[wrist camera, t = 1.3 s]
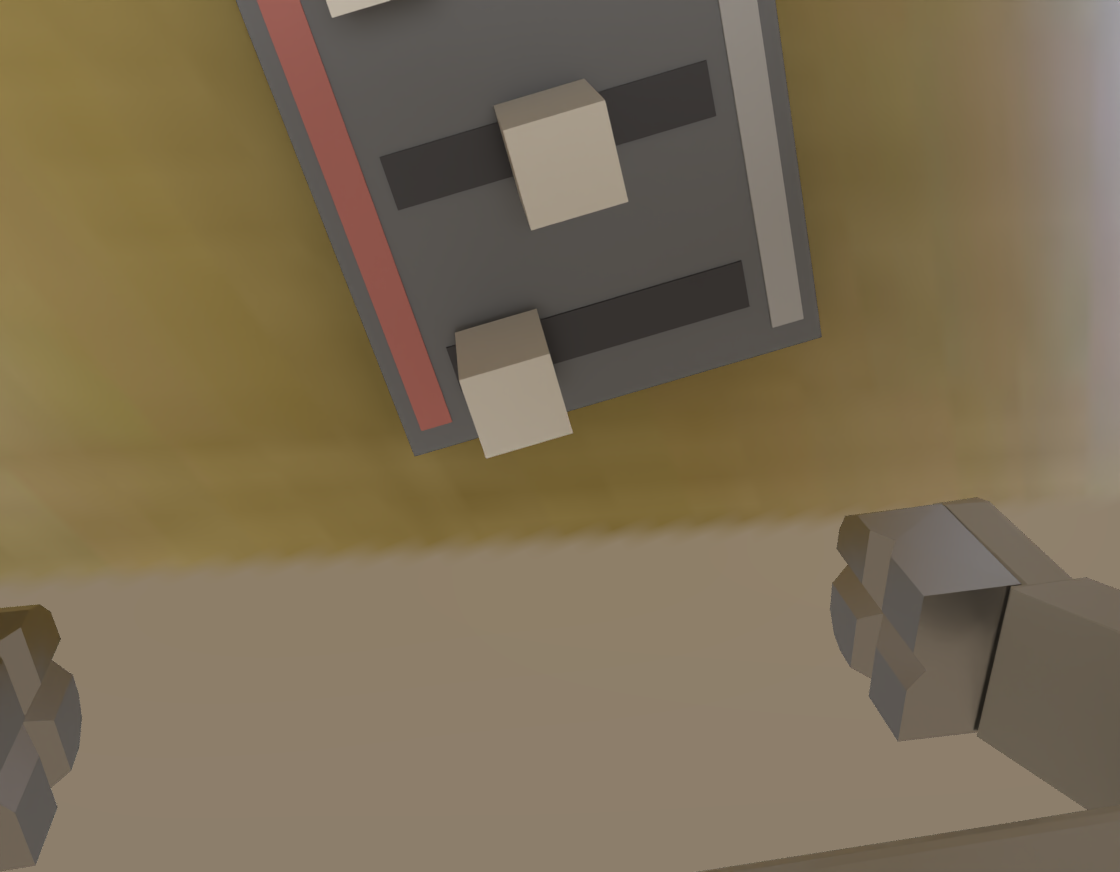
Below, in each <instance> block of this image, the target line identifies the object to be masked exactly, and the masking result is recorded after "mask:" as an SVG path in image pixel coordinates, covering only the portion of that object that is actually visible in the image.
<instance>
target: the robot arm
mask: <svg viewBox="0 0 1120 872" xmlns="http://www.w3.org/2000/svg"><path fill="white" fill-rule="evenodd" d="M837 550H838V551H839V553H840V554H841V556H842V557H843V558H844V560H845V561H846V562H847V564H848V565H847V566H846V567H845V569H844V570H843V571H842V572H841V573H840V575H839V576H838V577H837V578H836V579H835V581H834V582H833V583H832V594H831V605H830V610H831V617H832V624H833V630H834V635H835V638H836V640H837V643H838V646H839V648H840V651H841V652H842V654H843V656H844V658H845V659H846V661H847V662H848V664H849V666H850V667H851V668H853V669H854V670H856V671H858V672H860V673H862V674H864V675H865V676H867V677H869V678H871V685H870V692H869V697H870V699H871V700H872V702H873V703H874V705H875V707H876V708H877V710H878V711H879V713H880V714H881V716H882V717H883V719H884V720H885V722H886V724H887V725H888V726H889V728H890V730H891V731H892V733H893V734H894V736H895V738H896V739H897V741H906V740H914V739H923V738H932V737H940V736H949V735H958V734H966V733H975V732H978V733H977V737H979V738H980V739H982V740H983V741H985V742H986V743H988V744H990V745H991V746H992V747H994V748H995V749H997V750H998V751H1000V752H1001V753H1003V754H1004V755H1006V756H1007V757H1009V758H1010V759H1012V760H1013V761H1015V762H1016V763H1018V764H1019V765H1021V766H1022V767H1024V768H1026V769H1027V770H1029V771H1030V772H1032V773H1033V774H1034V775H1036V776H1037V777H1039V778H1040V779H1042V780H1043V781H1045V782H1047V783H1048V784H1050V785H1051V786H1053V787H1054V788H1055V789H1057V790H1058V791H1060V792H1061V793H1063V794H1065V795H1066V796H1068V797H1069V798H1070V799H1072V800H1073V801H1075V802H1076V803H1078V804H1079V805H1081V806H1083V807H1084V808H1086V809H1087V810H1085V811H1079V812H1073V813H1067V814H1060V815H1055V816H1048V817H1042V818H1036V819H1030V820H1024V821H1018V822H1011V823H1005V824H999V825H993V826H987V827H980V828H974V829H967V830H960V831H954V832H948V833H941V834H935V835H929V836H922V837H915V838H909V839H903V840H896V841H890V842H884V843H877V844H871V845H864V846H858V847H852V848H845V849H839V850H832V851H826V852H820V853H813V854H807V855H801V856H794V857H787V858H781V859H775V860H769V861H762V862H756V863H749V864H743V865H737V866H730V867H723V868H717V869H711V870H704V871H698V872H1120V590H1119V589H1116V588H1113V587H1111V586H1108V585H1105V584H1103V583H1100V582H1097V581H1095V580H1092V579H1089V578H1087V577H1086V578H1077V579H1072V578H1071V577H1070V576H1069V575H1068V574H1067V573H1066V572H1065V571H1064V570H1063V569H1061V568H1060V567H1059V566H1058V565H1057V564H1056V563H1055V562H1054V561H1053V560H1052V559H1051V558H1050V557H1049V556H1047V555H1046V554H1045V553H1044V552H1043V551H1042V550H1041V549H1040V548H1039V547H1038V546H1037V545H1035V543H1033V542H1032V541H1031V540H1030V539H1029V538H1028V537H1027V536H1026V535H1025V534H1024V533H1023V532H1022V531H1020V530H1019V529H1018V528H1017V527H1016V526H1015V525H1014V524H1013V523H1012V522H1011V521H1010V520H1009V519H1008V518H1007V517H1005V516H1004V515H1003V514H1002V513H1001V512H1000V511H999V510H998V509H997V508H996V507H995V506H994V505H993V504H991V503H990V502H989V501H986V500H983V499H980V498H977V497H976V498H969V499H962V500H955V501H949V502H942V503H935V504H933V505H926V506H918V507H911V508H903V509H895V510H887V511H880V512H872V513H864V514H857V515H849V516H845V518H844V520H843V522H842V525H841V527H840V529H839V536H838V543H837ZM60 640H61V638H60V636H59V633H58V630H57V627H56V625H55V622H54V620H53V617H52V614H51V612H50V611H49V610H47V609H46V608H44V607H43V606H41V605H29V606H17V607H6V608H0V871H6V870H12V869H18V868H24V867H29V866H35V865H36V863H37V860H38V857H39V855H40V852H41V849H42V846H43V844H44V841H45V839H46V836H47V833H48V831H49V828H50V825H51V823H52V820H53V818H54V815H55V812H56V810H57V805H56V802H55V799H54V796H53V793H52V791H51V788H52V787H53V786H54V785H55V784H56V783H57V782H59V781H60V780H61V779H62V778H63V777H64V776H66V775H67V774H68V773H69V772H70V771H71V769H72V766H73V763H74V761H75V758H76V755H77V752H78V749H79V743H80V732H81V721H82V715H81V708H80V700H79V694H78V690H77V687H76V684H75V681H74V678H73V675H72V674H71V673H69V672H68V671H66V670H65V669H64V668H62V667H61V666H60V665H58V664H57V663H55V662H54V661H52V658H53V656H54V653H55V651H56V649H57V646H58V644H59V642H60Z"/></svg>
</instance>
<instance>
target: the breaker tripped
mask: <svg viewBox="0 0 1120 872" xmlns="http://www.w3.org/2000/svg"><path fill="white" fill-rule="evenodd" d="M494 109H495V113H496V116H497V120H498V123H499V127H500V130H501V134H502V137H503V141H504V144H505V148H506V151H507V155H508V158H509V162H510V165H511V169H512V172H513V176H514V180H515V183H516V187H517V190H518V194H519V197H520V200H521V203H522V205H523V208H524V211H525V214H526V217H527V220H528V223H529V226H530V229H531V231H532V230H535V229H538V228H542V227H545V226H548V225H552V224H555V223H559V222H562V221H565V220H569V219H572V218H575V217H579V216H582V215H586V214H589V213H592V212H596V211H599V210H602V209H606V208H609V207H613V206H616V205H619V204H623V203H626V202H628V198H627V193H626V189H625V185H624V180H623V176H622V172H621V167H620V163H619V158H618V154H617V150H616V145H615V141H614V137H613V132H612V128H611V124H610V119H609V115H608V110H607V106H606V102H605V99H604V98H603V97H602V96H601V95H600V94H599V93H598V92H597V91H596V90H595V89H594V88H593V87H592V86H591V85H590V84H589V83H588V82H587V81H586V80H585V79H581V80H577V81H574V82H571V83H567V84H564V85H561V86H557V87H554V88H551V89H547V90H544V91H540V92H537V93H534V94H530V95H527V96H524V97H520V98H517V99H514V100H510V101H507V102H504V103H500V104H497V105H494Z"/></svg>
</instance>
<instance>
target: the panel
mask: <svg viewBox="0 0 1120 872" xmlns="http://www.w3.org/2000/svg"><path fill="white" fill-rule="evenodd" d="M236 2H237V5H238V7H239V10H240V12H241V15H242V18H243V20H244V23H245V25H246V28H247V30H248V33H249V35H250V38H251V40H252V43H253V46H254V48H255V51H256V53H257V56H258V58H259V61H260V63H261V66H262V68H263V71H264V74H265V76H266V79H267V81H268V84H269V86H270V89H271V91H272V94H273V97H274V99H275V102H276V104H277V107H278V109H279V112H280V114H281V117H282V119H283V122H284V125H285V127H286V130H287V132H288V135H289V137H290V140H291V142H292V145H293V147H294V150H295V153H296V155H297V158H298V160H299V163H300V165H301V168H302V170H303V173H304V175H305V178H306V181H307V183H308V186H309V188H310V191H311V193H312V196H313V198H314V201H315V204H316V206H317V209H318V211H319V214H320V216H321V219H322V221H323V224H324V226H325V229H326V232H327V234H328V237H329V239H330V242H331V244H332V247H333V249H334V252H335V254H336V257H337V260H338V262H339V265H340V267H341V270H342V272H343V275H344V277H345V280H346V282H347V285H348V288H349V290H350V293H351V295H352V298H353V300H354V303H355V305H356V308H357V311H358V313H359V316H360V318H361V321H362V323H363V326H364V328H365V331H366V333H367V336H368V339H369V341H370V344H371V346H372V349H373V351H374V354H375V356H376V359H377V361H378V364H379V367H380V369H381V372H382V374H383V377H384V379H385V382H386V384H387V387H388V389H389V392H390V395H391V397H392V400H393V402H394V405H395V407H396V410H397V412H398V415H399V418H400V420H401V423H402V425H403V428H404V430H405V433H406V435H407V438H408V440H409V443H410V446H411V448H412V451H413V453H414V456H418V455H421V454H425V453H428V452H432V451H435V450H439V449H442V448H445V447H449V446H452V445H456V444H459V443H462V442H466V441H469V440H473V439H476V438H479V437H478V434H477V431H476V428H475V425H474V422H473V419H472V417H471V414H470V411H469V408H468V405H467V402H466V399H465V397H464V394H463V391H462V388H461V385H460V382H459V376H458V364H457V352H456V340H455V332H459V331H462V330H465V329H469V328H472V327H476V326H479V325H482V324H486V323H489V322H493V321H496V320H499V319H503V318H506V317H510V316H513V315H516V314H520V313H523V312H526V311H530V310H533V309H537V312H538V315H539V319H540V322H541V326H542V329H543V332H544V336H545V339H546V343H547V346H548V349H549V353H550V356H551V360H552V363H553V366H554V370H555V373H556V377H557V380H558V384H559V387H560V390H561V394H562V397H563V401H564V404H565V407H566V411H567V412H568V411H571V410H575V409H578V408H582V407H585V406H588V405H592V404H595V403H599V402H602V401H605V400H609V399H612V398H616V397H619V396H623V395H626V394H629V393H633V392H636V391H640V390H643V389H646V388H650V387H653V386H657V385H660V384H663V383H667V382H670V381H674V380H677V379H680V378H684V377H687V376H691V375H694V374H697V373H701V372H704V371H708V370H711V369H715V368H718V367H721V366H725V365H728V364H732V363H735V362H738V361H742V360H745V359H749V358H752V357H755V356H759V355H762V354H766V353H769V352H772V351H776V350H779V349H783V348H786V347H790V346H793V345H796V344H800V343H803V342H807V341H810V340H813V339H817V338H820V337H822V336H821V329H820V321H819V314H818V307H817V300H816V292H815V285H814V278H813V271H812V263H811V256H810V249H809V242H808V234H807V227H806V220H805V213H804V205H803V198H802V191H801V184H800V176H799V169H798V162H797V155H796V147H795V140H794V133H793V126H792V118H791V111H790V104H789V97H788V89H787V82H786V75H785V68H784V60H783V53H782V46H781V39H780V31H779V24H778V17H777V9H776V2H775V0H390V1H387V2H384V3H380V4H377V5H374V6H370V7H367V8H364V9H360V10H357V11H354V12H350V13H347V14H344V15H340V16H337V17H334V18H332V17H331V14H330V11H329V8H328V5H327V2H326V0H236ZM581 79H585V80H586V81H587V82H588V83H589V84H590V85H591V86H592V87H593V88H594V89H595V90H596V91H597V92H598V93H599V94H600V95H601V96H602V97H603V98H604V99H605V102H606V106H607V110H608V115H609V119H610V124H611V128H612V132H613V137H614V141H615V145H616V150H617V154H618V158H619V163H620V167H621V172H622V176H623V180H624V185H625V189H626V193H627V198H628V202H626V203H623V204H619V205H616V206H613V207H609V208H606V209H602V210H599V211H596V212H592V213H589V214H586V215H582V216H579V217H575V218H572V219H569V220H565V221H562V222H559V223H555V224H552V225H548V226H545V227H542V228H538V229H535V230H532V231H531V229H530V226H529V223H528V220H527V217H526V214H525V211H524V208H523V205H522V203H521V200H520V197H519V194H518V190H517V187H516V183H515V180H514V176H513V172H512V169H511V165H510V162H509V158H508V155H507V151H506V148H505V144H504V141H503V137H502V134H501V130H500V127H499V123H498V120H497V116H496V113H495V109H494V105H497V104H500V103H504V102H507V101H510V100H514V99H517V98H520V97H524V96H527V95H530V94H534V93H537V92H540V91H544V90H547V89H551V88H554V87H557V86H561V85H564V84H567V83H571V82H574V81H577V80H581Z"/></svg>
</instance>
